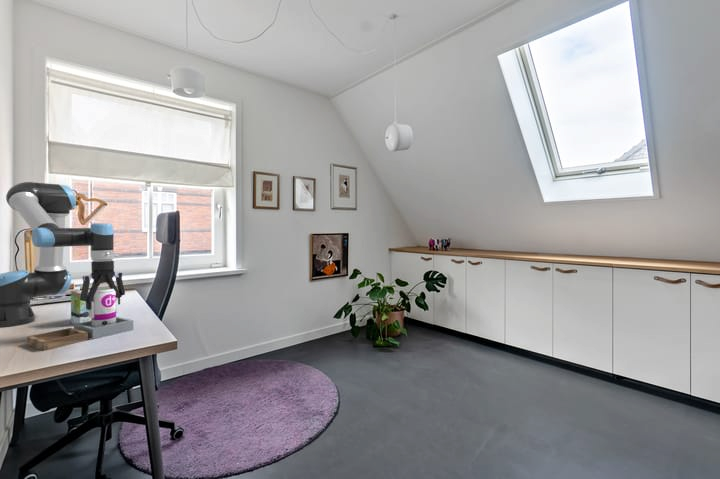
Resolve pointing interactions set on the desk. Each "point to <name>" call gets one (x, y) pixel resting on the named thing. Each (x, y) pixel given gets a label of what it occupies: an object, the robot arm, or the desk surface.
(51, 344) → the tray
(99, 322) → the supplement can
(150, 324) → the desk surface
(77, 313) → the tea box
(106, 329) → the tray
